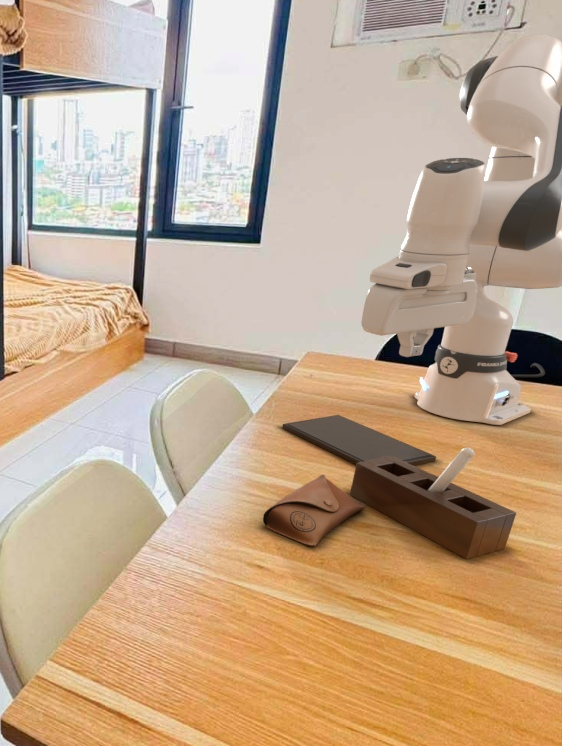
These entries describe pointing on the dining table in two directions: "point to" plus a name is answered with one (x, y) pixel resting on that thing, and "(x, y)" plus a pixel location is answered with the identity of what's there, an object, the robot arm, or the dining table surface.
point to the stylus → (452, 470)
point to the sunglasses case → (311, 512)
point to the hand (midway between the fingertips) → (410, 355)
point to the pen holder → (433, 507)
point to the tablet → (355, 440)
